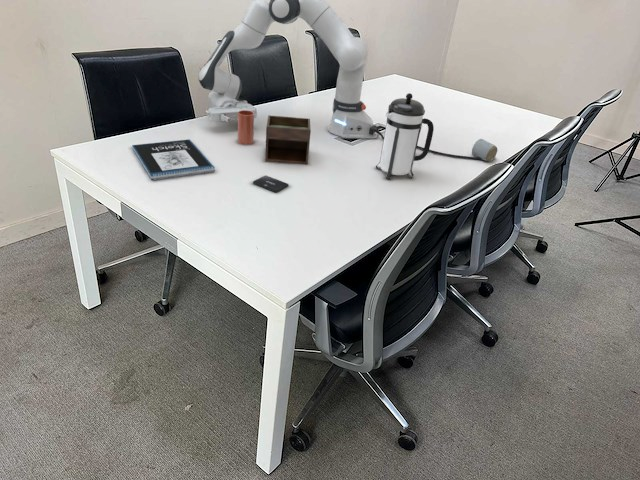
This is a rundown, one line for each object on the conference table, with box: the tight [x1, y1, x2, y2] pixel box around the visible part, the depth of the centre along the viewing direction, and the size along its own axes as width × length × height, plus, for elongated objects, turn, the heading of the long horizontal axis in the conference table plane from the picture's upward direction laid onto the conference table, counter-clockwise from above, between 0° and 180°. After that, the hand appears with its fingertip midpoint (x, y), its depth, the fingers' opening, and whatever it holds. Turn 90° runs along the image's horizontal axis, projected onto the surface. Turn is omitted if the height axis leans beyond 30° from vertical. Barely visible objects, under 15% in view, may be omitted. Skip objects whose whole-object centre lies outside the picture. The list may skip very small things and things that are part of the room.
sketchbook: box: [131, 139, 216, 181], centre depth 166 cm, size 22×30×2 cm
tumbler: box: [237, 110, 255, 146], centre depth 185 cm, size 6×6×12 cm
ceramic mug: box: [471, 138, 498, 162], centre depth 196 cm, size 11×8×8 cm
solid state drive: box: [252, 174, 289, 193], centre depth 157 cm, size 7×10×1 cm
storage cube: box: [264, 114, 312, 165], centre depth 176 cm, size 16×13×14 cm
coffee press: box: [375, 92, 435, 181], centre depth 168 cm, size 17×16×30 cm
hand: (239, 119), depth 189 cm, fingers open, 8 cm apart
